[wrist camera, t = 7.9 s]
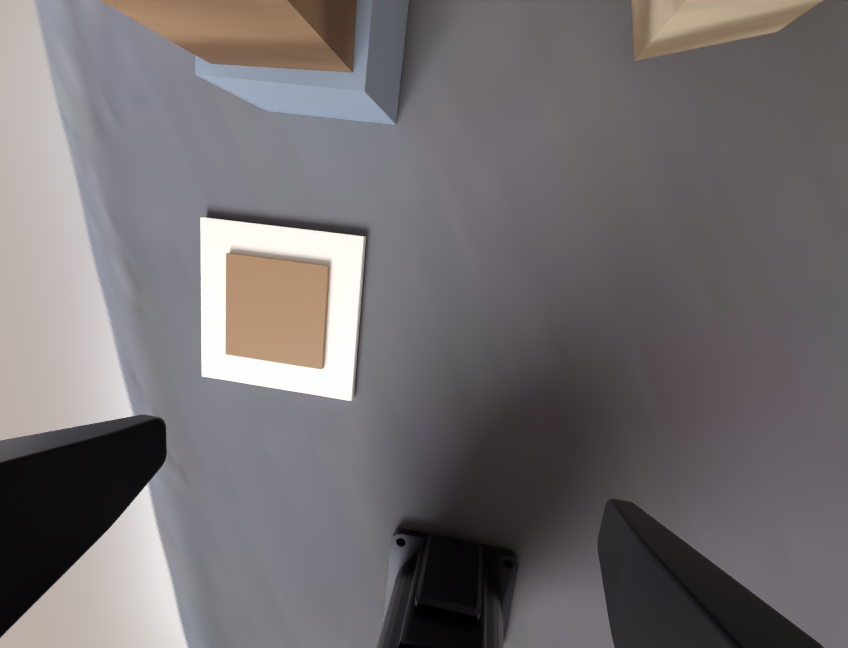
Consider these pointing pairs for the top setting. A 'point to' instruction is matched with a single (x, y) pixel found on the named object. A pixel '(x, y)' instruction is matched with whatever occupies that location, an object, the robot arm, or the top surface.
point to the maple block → (706, 22)
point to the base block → (331, 74)
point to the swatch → (281, 306)
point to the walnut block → (255, 30)
